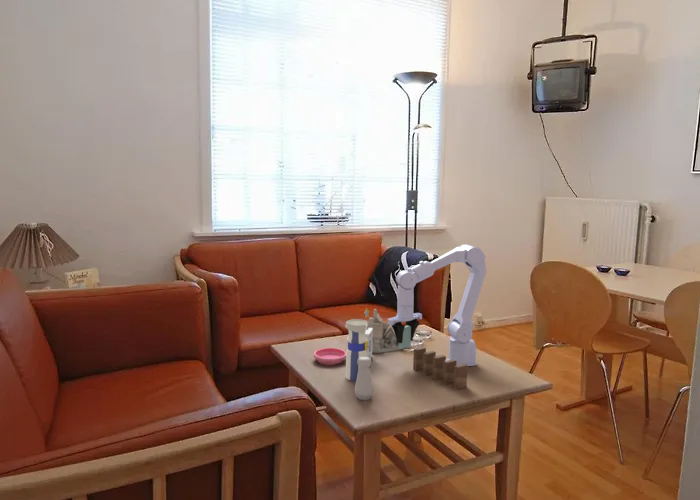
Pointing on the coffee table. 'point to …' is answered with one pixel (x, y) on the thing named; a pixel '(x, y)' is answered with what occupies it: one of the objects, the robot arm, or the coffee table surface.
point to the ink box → (369, 341)
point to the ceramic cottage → (382, 335)
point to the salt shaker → (364, 379)
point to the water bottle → (356, 345)
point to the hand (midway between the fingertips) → (404, 341)
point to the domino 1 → (406, 338)
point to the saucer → (330, 356)
